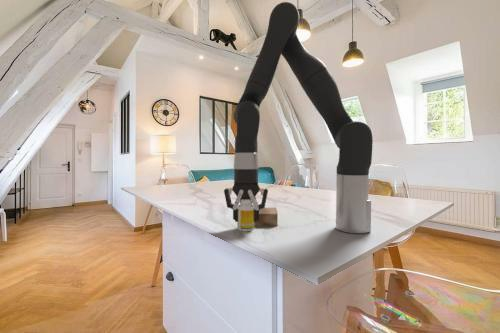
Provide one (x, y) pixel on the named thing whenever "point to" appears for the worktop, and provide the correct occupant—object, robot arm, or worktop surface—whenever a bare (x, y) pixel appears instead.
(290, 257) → the worktop surface
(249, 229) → the supplement bottle
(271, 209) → the walnut block
